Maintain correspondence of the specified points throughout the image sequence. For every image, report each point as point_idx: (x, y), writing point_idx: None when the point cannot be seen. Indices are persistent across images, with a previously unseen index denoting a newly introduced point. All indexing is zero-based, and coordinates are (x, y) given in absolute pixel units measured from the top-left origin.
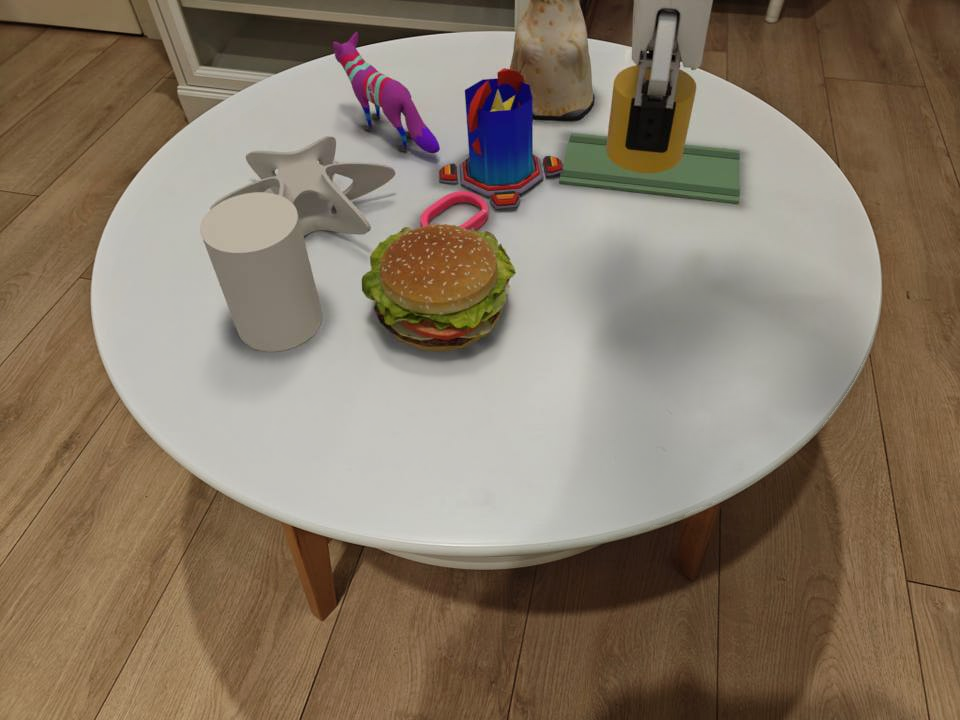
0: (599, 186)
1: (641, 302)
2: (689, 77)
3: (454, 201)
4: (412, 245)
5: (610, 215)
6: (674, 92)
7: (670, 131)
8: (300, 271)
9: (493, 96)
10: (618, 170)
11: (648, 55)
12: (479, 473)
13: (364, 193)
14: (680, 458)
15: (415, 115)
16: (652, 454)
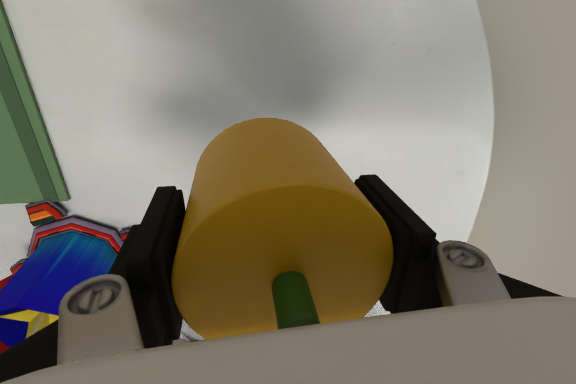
0: (53, 154)
1: (250, 82)
2: (233, 208)
3: None
4: None
5: (106, 133)
6: (496, 277)
7: (396, 195)
8: None
9: (6, 330)
10: (2, 136)
11: (164, 334)
12: (440, 183)
13: (180, 338)
14: (440, 32)
15: None
16: (435, 59)
